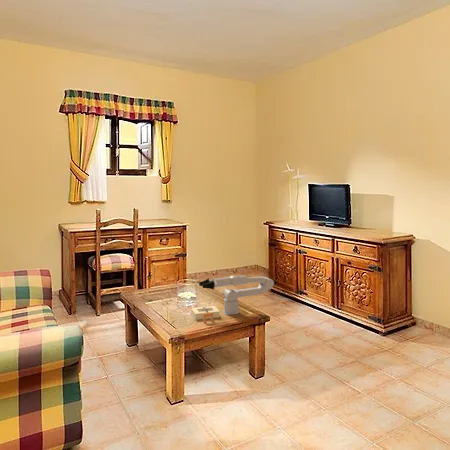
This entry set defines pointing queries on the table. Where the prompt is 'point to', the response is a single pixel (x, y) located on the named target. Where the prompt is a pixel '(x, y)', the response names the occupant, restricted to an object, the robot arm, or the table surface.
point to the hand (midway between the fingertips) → (200, 285)
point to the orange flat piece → (208, 316)
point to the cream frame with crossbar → (200, 311)
